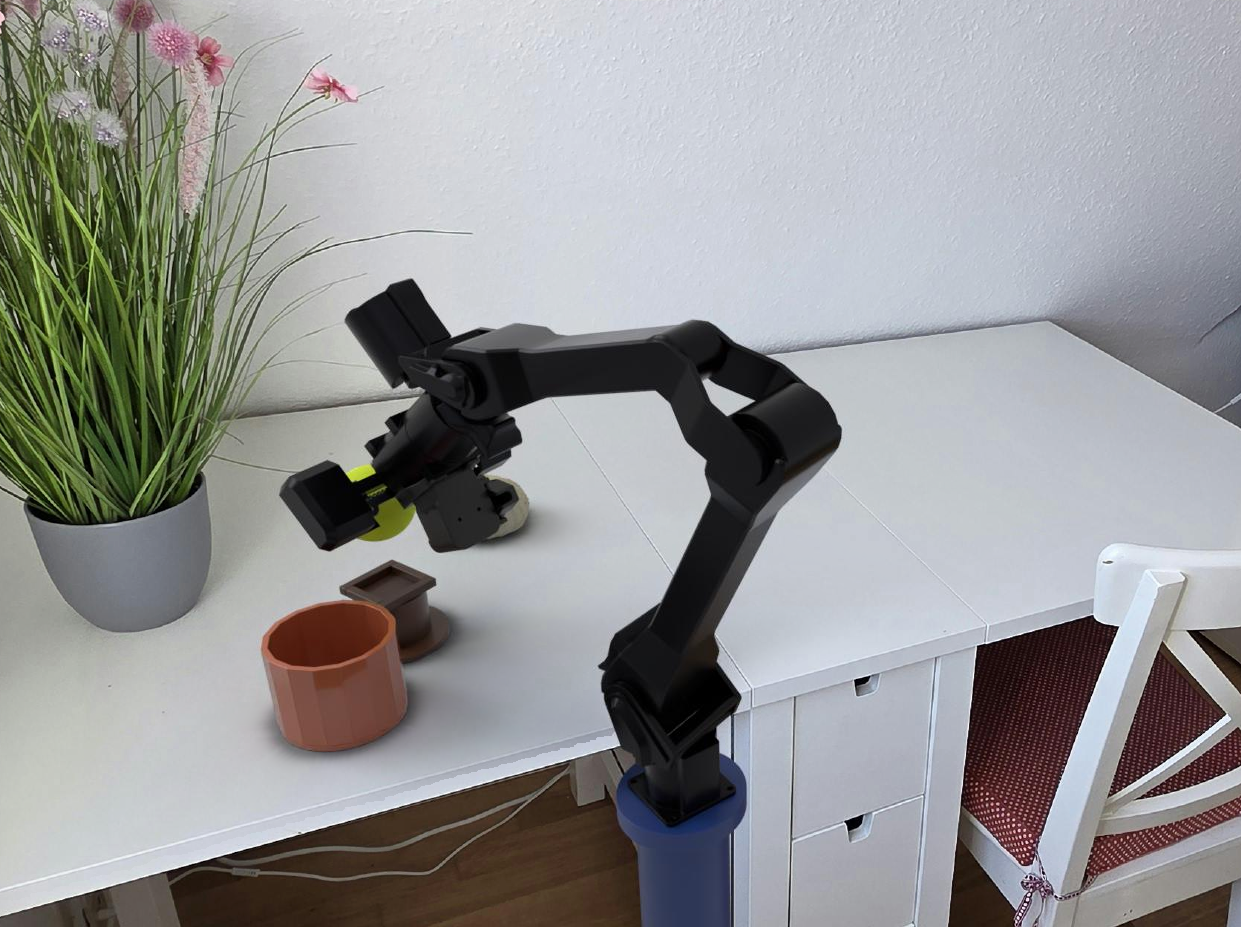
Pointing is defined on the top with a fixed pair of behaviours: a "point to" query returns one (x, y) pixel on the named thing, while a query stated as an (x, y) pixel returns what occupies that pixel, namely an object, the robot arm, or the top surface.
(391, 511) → the tennis ball
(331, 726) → the terracotta pot
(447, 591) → the top surface
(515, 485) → the sea urchin shell
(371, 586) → the ball stand
